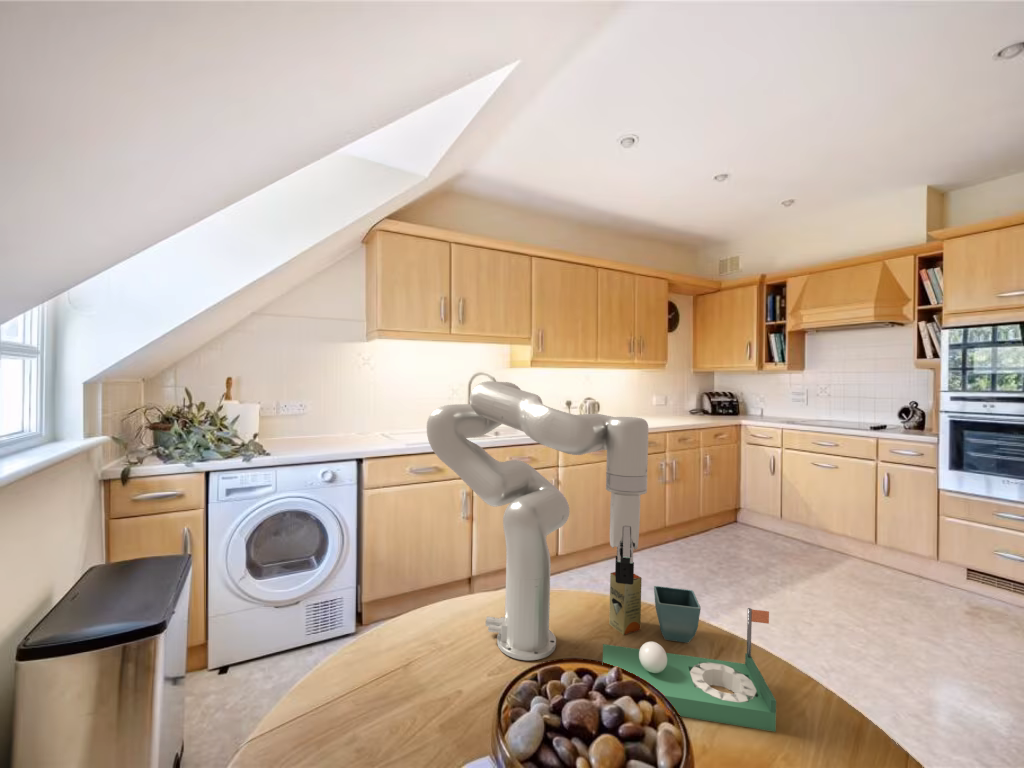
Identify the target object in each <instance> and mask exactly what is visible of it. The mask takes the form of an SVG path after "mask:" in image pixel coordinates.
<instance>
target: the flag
mask: <svg viewBox="0 0 1024 768" xmlns="http://www.w3.org/2000/svg"><path fill="white" fill-rule="evenodd" d="M746 618H747V623H746V624H747V625H746V626H747V627H746V628H747V629H746V631H747V632H746V653H747V657H749V658H751V657H752V628H753V627H752V623H759V624H770V610H768V611H767V610H760V609H759V610H758V609H753V608H751V607H748V608H747V617H746ZM746 667H747V665H746Z"/></svg>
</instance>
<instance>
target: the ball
mask: <svg viewBox="0 0 1024 768" xmlns="http://www.w3.org/2000/svg"><path fill="white" fill-rule="evenodd" d="M639 649H640V651H639V659H640V662H641V664H642V666H643V667H644V668H645V669H646V670H647V671H649V672H651V673H659V672H661V671H663V670H664V669H665V667H666V665H667V655H666V653H667V652H666V650H665V649H664V647H663V646H662V645H661V644H659V643H657V642H656V641H646V642H645V643H643V644H642V645H641V646H640V648H639Z"/></svg>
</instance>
